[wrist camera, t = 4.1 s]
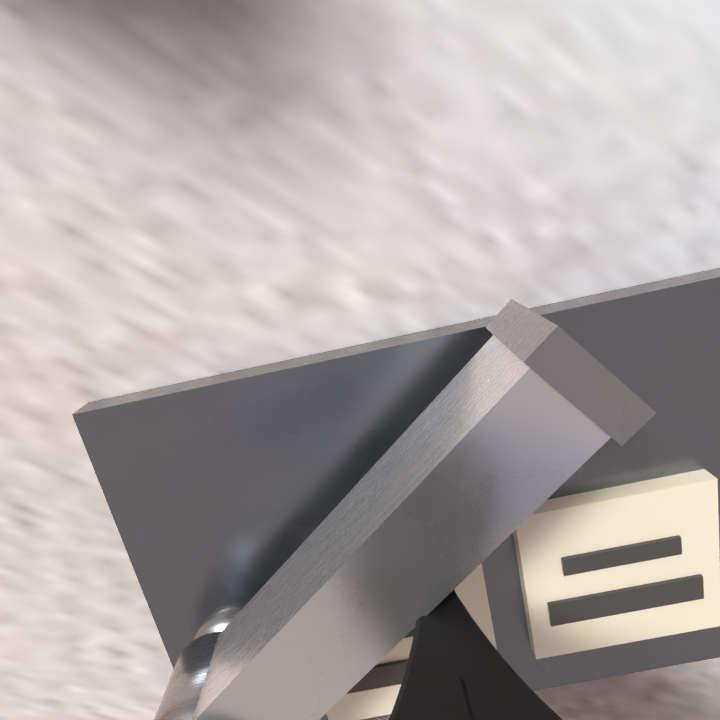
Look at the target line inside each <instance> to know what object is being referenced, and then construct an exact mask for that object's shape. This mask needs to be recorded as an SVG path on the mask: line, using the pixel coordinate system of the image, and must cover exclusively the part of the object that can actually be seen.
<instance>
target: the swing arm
mask: <svg viewBox="0 0 720 720" xmlns="http://www.w3.org/2000/svg"><path fill="white" fill-rule="evenodd" d="M486 329H487V330H488V331H490V332H491V333H492V334H493V336H492V337H491V338H490V339H489V340H488V341H487V342H486V343H485V344H484V346H483V347H482V348H481V349H480V350H479V351H478V352H477V353H476V354H475V355H474V357H473V358H472V359H471V360H470V361H469V362H468V363H467V364H466V365H465V366H464V367H463V369H462V370H461V371H460V372H459V373H458V374H457V375H456V376H455V377H454V378H453V379H452V381H451V382H450V383H449V384H448V385H447V386H446V387H445V388H444V389H443V390H442V391H441V393H440V394H439V395H438V396H437V397H436V398H435V399H434V400H433V401H432V402H431V403H430V405H429V406H428V407H427V408H426V409H425V410H424V411H423V412H422V413H421V414H420V415H419V417H418V418H417V419H416V420H415V421H414V422H413V423H412V424H411V425H410V426H409V428H408V429H407V430H406V431H405V432H404V433H403V434H402V435H401V436H400V437H399V438H398V440H397V441H396V442H395V443H394V444H393V445H392V446H391V447H390V448H389V449H388V450H387V452H386V453H385V454H384V455H383V456H382V457H381V458H380V459H379V460H378V461H377V462H376V464H375V465H374V466H373V467H372V468H371V469H370V470H369V471H368V472H367V473H366V474H365V476H364V477H363V478H362V479H361V480H360V481H359V482H358V483H357V484H356V485H355V486H354V488H353V489H352V490H351V491H350V492H349V493H348V494H347V495H346V496H345V497H344V499H343V500H342V501H341V502H340V503H339V504H338V505H337V506H336V507H335V508H334V509H333V511H332V512H331V513H330V514H329V515H328V516H327V517H326V518H325V519H324V520H323V521H322V523H321V524H320V525H319V526H318V527H317V528H316V529H315V530H314V531H313V532H312V533H311V535H310V536H309V537H308V538H307V539H306V540H305V541H304V542H303V543H302V544H301V545H300V547H299V548H298V549H297V550H296V551H295V552H294V553H293V554H292V555H291V556H290V558H289V559H288V560H287V561H286V562H285V563H284V564H283V565H282V566H281V567H280V568H279V570H278V571H277V572H276V573H275V574H274V575H273V576H272V577H271V578H270V579H269V580H268V582H267V583H266V584H265V585H264V586H263V587H262V588H261V589H260V590H259V591H258V592H257V594H256V595H255V596H254V597H253V598H252V599H251V600H250V601H249V602H248V603H247V604H246V606H245V607H244V608H243V609H242V610H241V611H240V612H239V613H238V614H237V615H236V616H235V618H234V619H233V620H232V621H231V622H230V623H229V624H228V625H227V626H226V627H225V629H224V630H223V631H219V632H213V633H209V634H206V635H203V636H201V637H199V638H197V639H195V640H193V641H192V642H191V643H189V644H188V645H187V646H186V647H185V648H184V650H183V651H182V652H181V654H180V656H179V658H178V660H177V663H176V665H175V668H174V670H173V673H172V675H171V678H170V681H169V683H168V686H167V688H166V691H165V693H164V696H163V698H162V701H161V704H160V706H159V709H158V711H157V714H156V716H155V719H154V720H320V719H321V718H322V717H323V716H324V715H325V714H326V713H327V712H328V711H329V710H330V709H331V708H332V707H333V706H334V705H335V704H336V703H337V702H338V701H339V700H340V699H341V698H342V697H343V696H344V695H345V694H346V693H347V692H348V691H349V690H351V689H352V688H353V687H354V686H355V685H356V684H357V683H358V682H359V681H360V680H361V679H362V678H363V677H364V676H365V675H366V674H367V673H368V672H369V671H370V670H371V669H372V668H373V667H374V666H375V665H376V664H377V663H378V662H379V661H380V660H382V659H383V658H384V657H385V656H386V655H387V654H388V653H389V652H390V651H391V650H392V649H393V648H394V647H395V646H396V645H397V644H398V643H399V642H400V641H401V640H402V639H403V638H404V637H405V636H406V635H407V634H408V633H409V632H410V631H411V630H413V629H414V628H415V624H416V620H417V619H419V618H420V617H421V616H427V615H428V614H429V613H430V612H431V611H432V610H433V609H434V608H435V607H436V606H437V605H438V604H439V603H440V602H441V601H442V600H443V599H445V598H446V597H447V596H448V595H449V594H450V593H451V592H452V591H453V590H454V589H455V588H456V587H457V586H458V585H459V584H460V583H461V582H462V581H463V580H464V579H465V578H466V577H467V576H468V575H469V574H470V573H471V572H472V571H473V570H474V569H476V568H477V567H478V566H479V565H480V564H481V563H482V562H483V561H484V560H485V559H486V558H487V557H488V556H489V555H490V554H491V553H492V552H493V551H494V550H495V549H496V548H497V547H498V546H499V545H500V544H501V543H502V542H503V541H504V540H505V539H507V538H508V537H509V536H510V535H511V534H512V533H513V532H514V531H515V530H516V529H517V528H518V527H519V526H520V525H521V524H522V523H523V522H524V521H525V520H526V519H527V518H528V517H529V516H530V515H531V514H532V513H533V512H534V511H535V510H536V509H538V508H539V507H540V506H541V505H542V504H543V503H544V502H545V501H546V500H547V499H548V498H549V497H550V496H551V495H552V494H553V493H554V492H555V491H556V490H557V489H558V488H559V487H560V486H561V485H562V484H563V483H564V482H565V481H566V480H567V479H568V478H570V477H571V476H572V475H573V474H574V473H575V472H576V471H577V470H578V469H579V468H580V467H581V466H582V465H583V464H584V463H585V462H586V461H587V460H588V459H589V458H590V457H591V456H592V455H593V454H594V453H595V452H596V451H597V450H598V449H599V448H601V447H602V446H603V445H604V444H605V443H606V442H607V441H608V440H609V439H610V438H611V437H612V438H613V439H614V440H615V441H616V442H618V443H619V444H620V445H621V446H623V445H624V444H625V443H626V442H627V441H628V440H629V439H630V438H631V437H632V436H633V435H634V434H635V433H636V432H637V431H638V430H639V429H640V428H641V427H642V426H643V425H644V424H646V423H647V422H648V421H649V420H650V419H651V418H652V417H653V416H654V415H655V414H656V412H655V411H654V410H653V409H652V408H650V407H649V406H648V405H647V404H646V403H645V402H644V401H643V400H641V399H640V398H639V397H638V396H637V395H636V394H635V393H634V392H632V391H631V390H630V389H629V388H628V387H627V386H626V385H624V384H623V383H622V382H621V381H620V380H619V379H618V378H617V377H615V376H614V375H613V374H612V373H611V372H610V371H609V370H608V369H606V368H605V367H604V366H603V365H602V364H601V363H600V362H599V361H597V360H596V359H595V358H594V357H593V356H592V355H591V354H589V353H588V352H587V351H586V350H585V349H584V348H583V347H582V346H580V345H579V344H578V343H577V342H576V341H575V340H574V339H573V338H571V337H570V336H569V335H568V334H567V333H566V332H565V331H564V330H562V329H561V328H560V327H559V326H558V325H556V324H554V323H553V322H551V321H549V320H547V319H546V318H544V317H542V316H540V315H539V314H537V313H535V312H533V311H532V310H530V309H528V308H526V307H525V306H523V305H521V304H519V303H518V302H516V301H514V300H512V299H511V300H510V301H509V302H508V304H507V305H506V306H505V307H504V308H503V309H502V310H501V311H500V312H499V313H498V315H497V316H496V317H495V318H494V319H493V320H492V321H491V322H490V323H489V324H488V326H487V327H486Z"/></svg>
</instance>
